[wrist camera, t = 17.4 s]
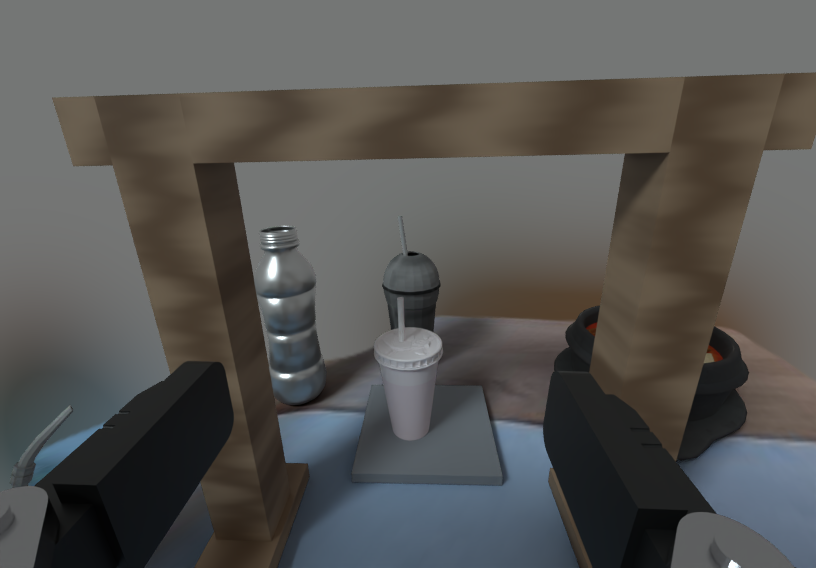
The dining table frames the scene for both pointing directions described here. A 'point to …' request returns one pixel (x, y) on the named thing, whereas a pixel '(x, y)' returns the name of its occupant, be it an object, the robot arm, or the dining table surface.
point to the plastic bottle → (289, 317)
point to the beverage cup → (411, 287)
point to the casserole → (715, 393)
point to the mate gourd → (35, 452)
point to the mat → (430, 443)
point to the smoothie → (408, 375)
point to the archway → (437, 138)
